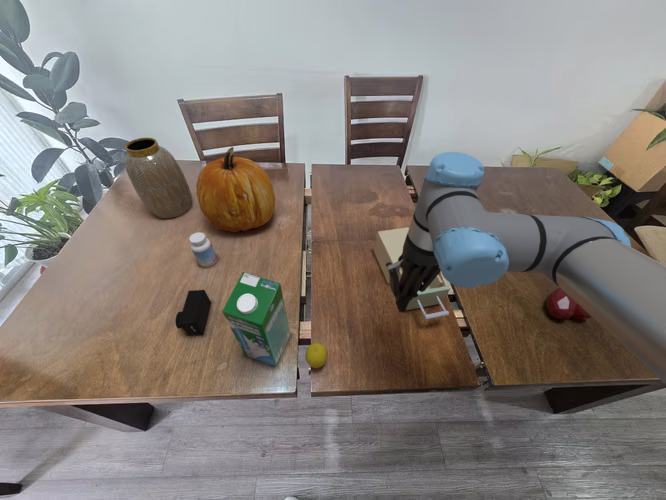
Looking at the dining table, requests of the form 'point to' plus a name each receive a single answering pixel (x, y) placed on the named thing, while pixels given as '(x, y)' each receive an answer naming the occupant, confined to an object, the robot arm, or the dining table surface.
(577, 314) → the heart
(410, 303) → the drawer
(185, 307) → the digital camera
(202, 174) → the pumpkin
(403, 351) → the dining table surface
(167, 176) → the vase
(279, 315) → the milk carton
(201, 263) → the pill bottle
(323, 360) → the lemon
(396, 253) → the cabinet
